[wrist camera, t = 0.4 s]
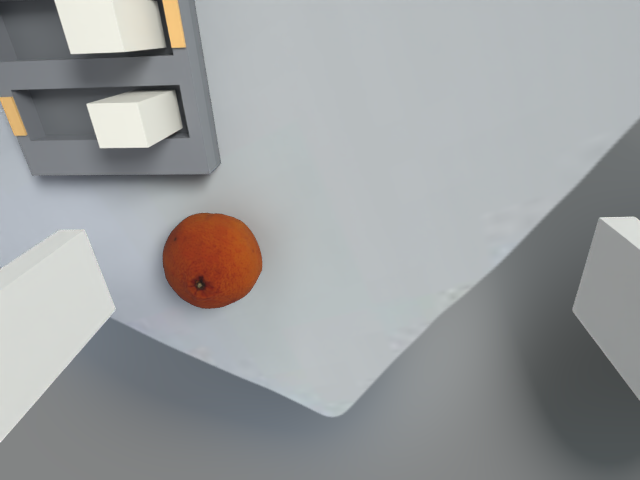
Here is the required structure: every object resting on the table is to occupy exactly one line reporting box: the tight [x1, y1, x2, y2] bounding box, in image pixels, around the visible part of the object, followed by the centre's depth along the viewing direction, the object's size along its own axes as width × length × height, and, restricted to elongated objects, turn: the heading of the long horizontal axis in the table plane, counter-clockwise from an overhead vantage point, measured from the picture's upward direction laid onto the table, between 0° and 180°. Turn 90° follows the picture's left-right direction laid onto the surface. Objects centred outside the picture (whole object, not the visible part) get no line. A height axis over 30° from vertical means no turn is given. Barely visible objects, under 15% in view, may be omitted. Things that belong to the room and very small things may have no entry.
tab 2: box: [86, 90, 183, 148], centre depth 29 cm, size 3×4×6 cm
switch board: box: [0, 0, 221, 175], centre depth 29 cm, size 22×16×3 cm
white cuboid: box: [54, 0, 166, 54], centre depth 26 cm, size 3×4×6 cm
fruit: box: [163, 213, 262, 309], centre depth 36 cm, size 9×9×8 cm
